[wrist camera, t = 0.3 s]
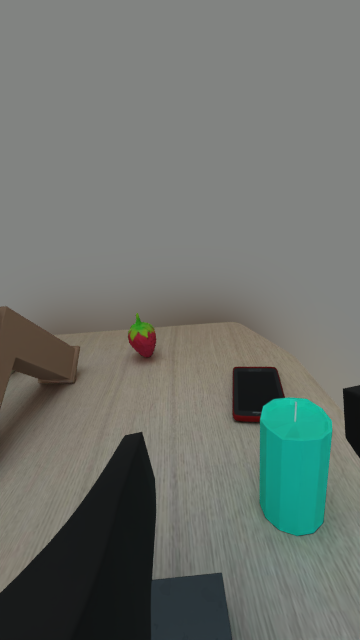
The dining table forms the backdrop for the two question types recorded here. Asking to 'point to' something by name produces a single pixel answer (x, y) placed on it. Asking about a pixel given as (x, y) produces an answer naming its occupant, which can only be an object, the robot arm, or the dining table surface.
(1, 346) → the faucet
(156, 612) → the plate
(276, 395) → the cell phone
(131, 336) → the strawberry
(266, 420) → the candle
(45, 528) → the dining table surface
